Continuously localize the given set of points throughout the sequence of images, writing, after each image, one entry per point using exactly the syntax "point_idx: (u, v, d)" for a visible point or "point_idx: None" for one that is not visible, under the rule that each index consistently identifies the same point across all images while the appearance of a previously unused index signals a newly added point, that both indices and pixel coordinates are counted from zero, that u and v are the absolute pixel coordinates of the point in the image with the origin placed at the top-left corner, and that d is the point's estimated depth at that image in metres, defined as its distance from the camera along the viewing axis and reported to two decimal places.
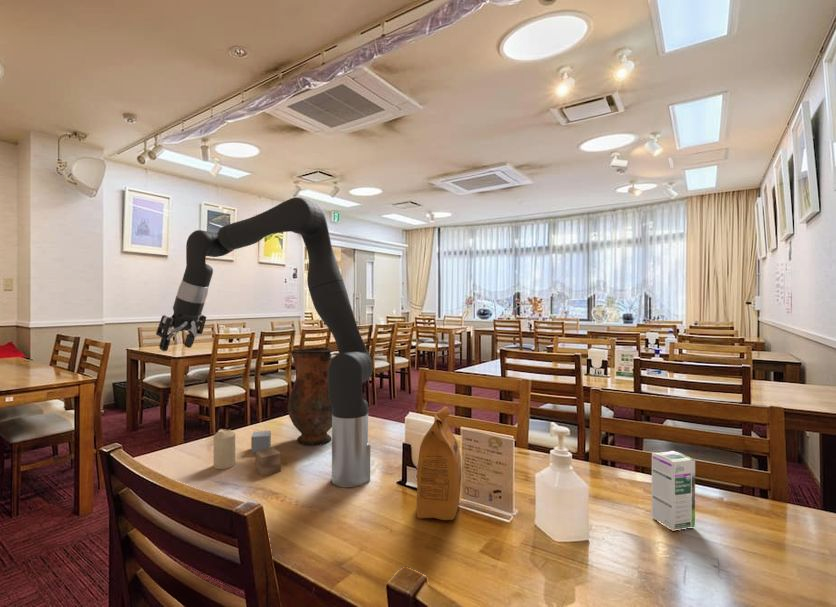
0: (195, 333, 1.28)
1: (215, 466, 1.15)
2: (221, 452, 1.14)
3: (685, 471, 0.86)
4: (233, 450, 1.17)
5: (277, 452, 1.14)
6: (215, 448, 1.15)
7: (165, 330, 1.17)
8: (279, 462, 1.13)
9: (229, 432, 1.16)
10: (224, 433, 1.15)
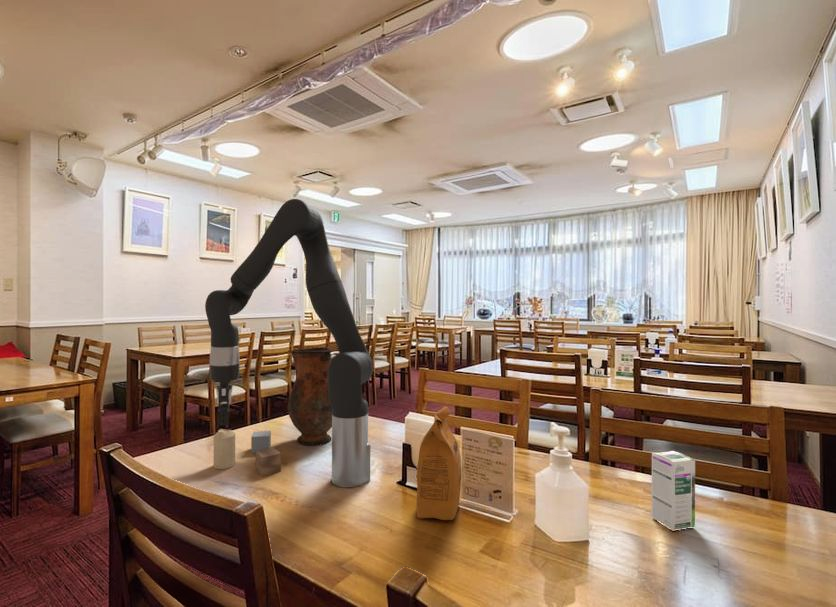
0: None
1: (215, 466, 1.15)
2: (221, 452, 1.14)
3: (685, 471, 0.86)
4: (233, 450, 1.17)
5: (277, 452, 1.14)
6: (215, 448, 1.15)
7: (228, 401, 1.11)
8: (279, 462, 1.13)
9: (229, 432, 1.16)
10: (224, 433, 1.15)
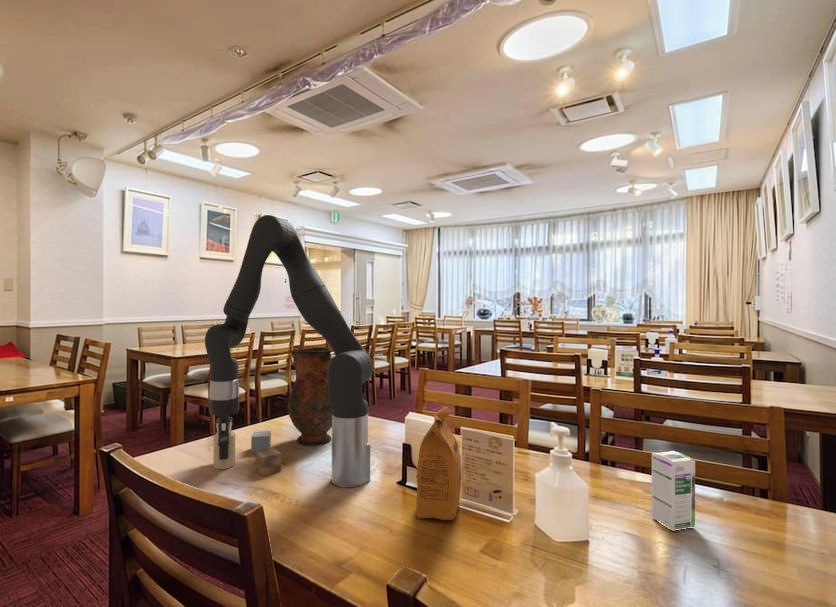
0: None
1: (215, 466, 1.15)
2: None
3: (685, 471, 0.86)
4: (233, 450, 1.17)
5: (277, 452, 1.14)
6: (215, 448, 1.15)
7: (228, 436, 1.11)
8: (279, 462, 1.13)
9: None
10: None
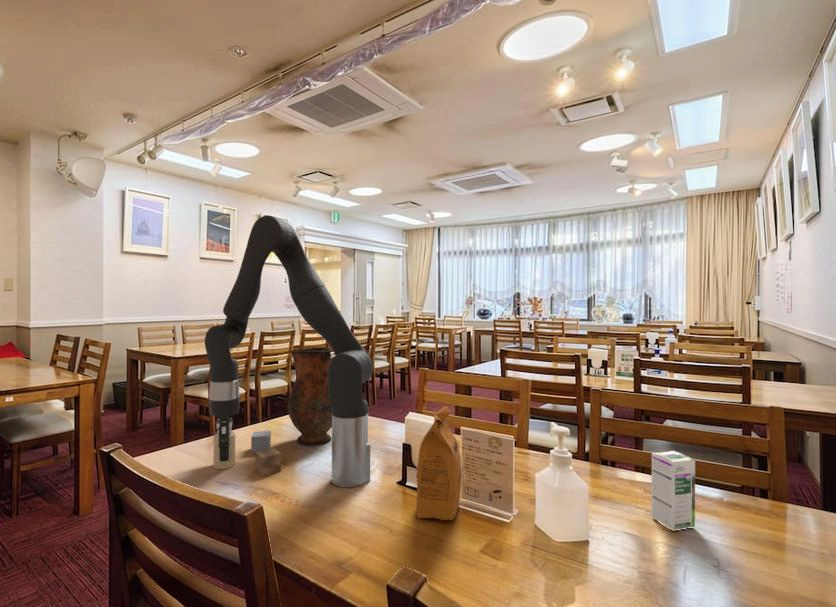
0: None
1: (215, 466, 1.15)
2: None
3: (685, 471, 0.86)
4: (233, 450, 1.17)
5: (277, 452, 1.14)
6: (215, 448, 1.15)
7: (228, 438, 1.12)
8: (279, 462, 1.13)
9: None
10: None
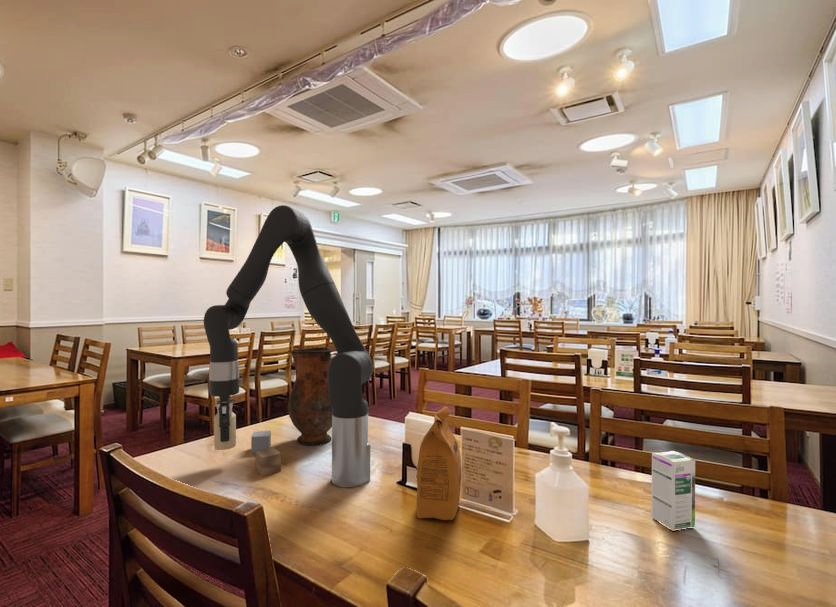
0: None
1: (216, 447, 1.14)
2: None
3: (685, 471, 0.86)
4: (234, 431, 1.16)
5: (277, 452, 1.14)
6: (216, 429, 1.14)
7: (229, 418, 1.12)
8: (279, 462, 1.13)
9: None
10: None
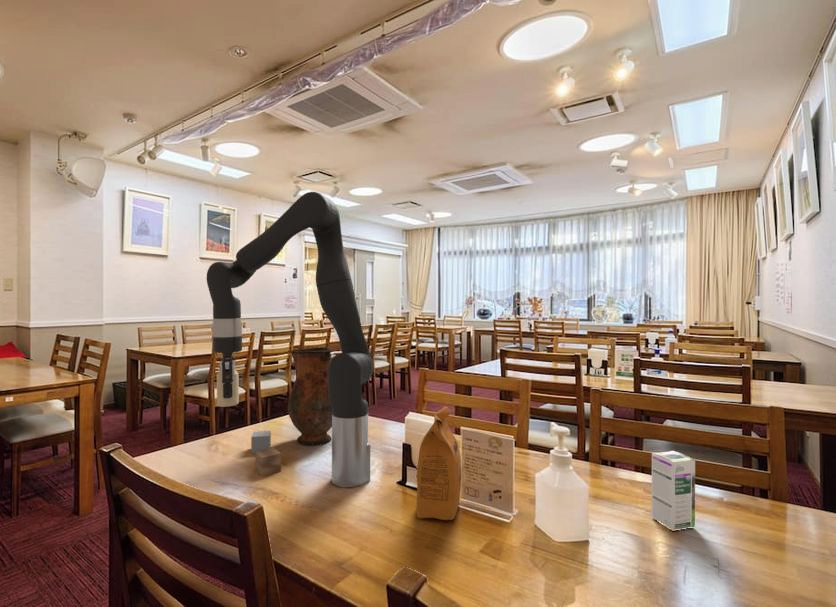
0: None
1: (219, 404, 1.15)
2: None
3: (685, 471, 0.86)
4: (236, 388, 1.16)
5: (277, 452, 1.14)
6: (218, 386, 1.14)
7: (232, 374, 1.12)
8: (279, 462, 1.13)
9: None
10: None
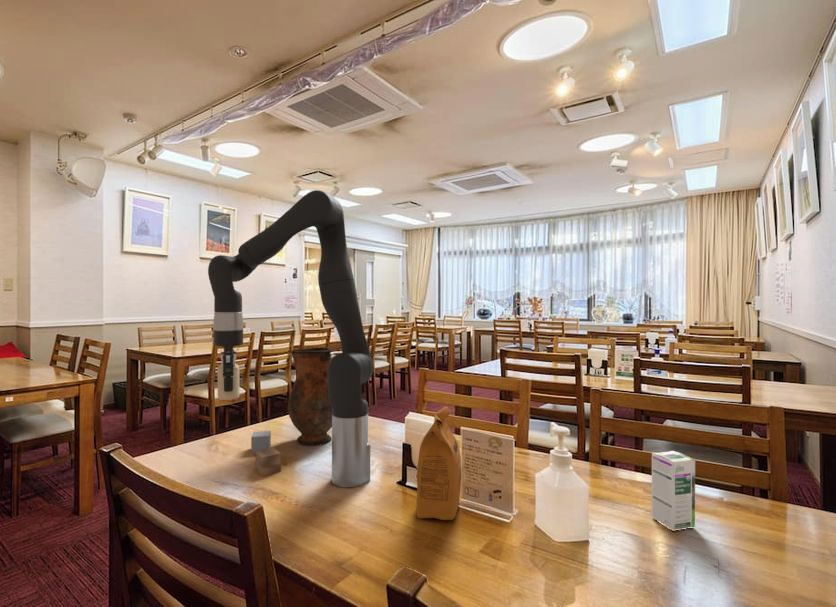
0: None
1: (219, 397, 1.15)
2: None
3: (685, 471, 0.86)
4: (237, 382, 1.16)
5: (277, 452, 1.14)
6: (219, 379, 1.15)
7: (233, 368, 1.12)
8: (279, 462, 1.13)
9: None
10: None
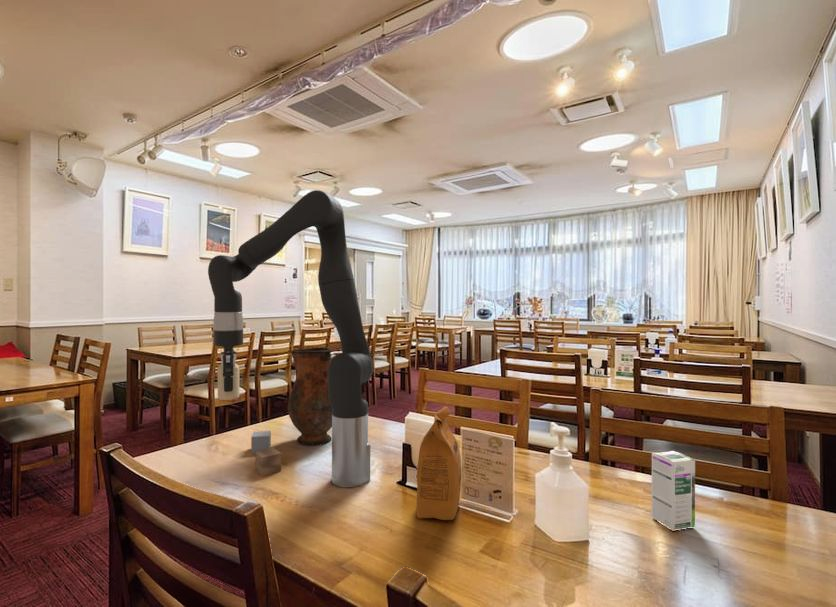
0: None
1: (219, 397, 1.15)
2: None
3: (685, 471, 0.86)
4: (237, 382, 1.16)
5: (277, 452, 1.14)
6: (219, 379, 1.15)
7: (233, 368, 1.12)
8: (279, 462, 1.13)
9: None
10: None
